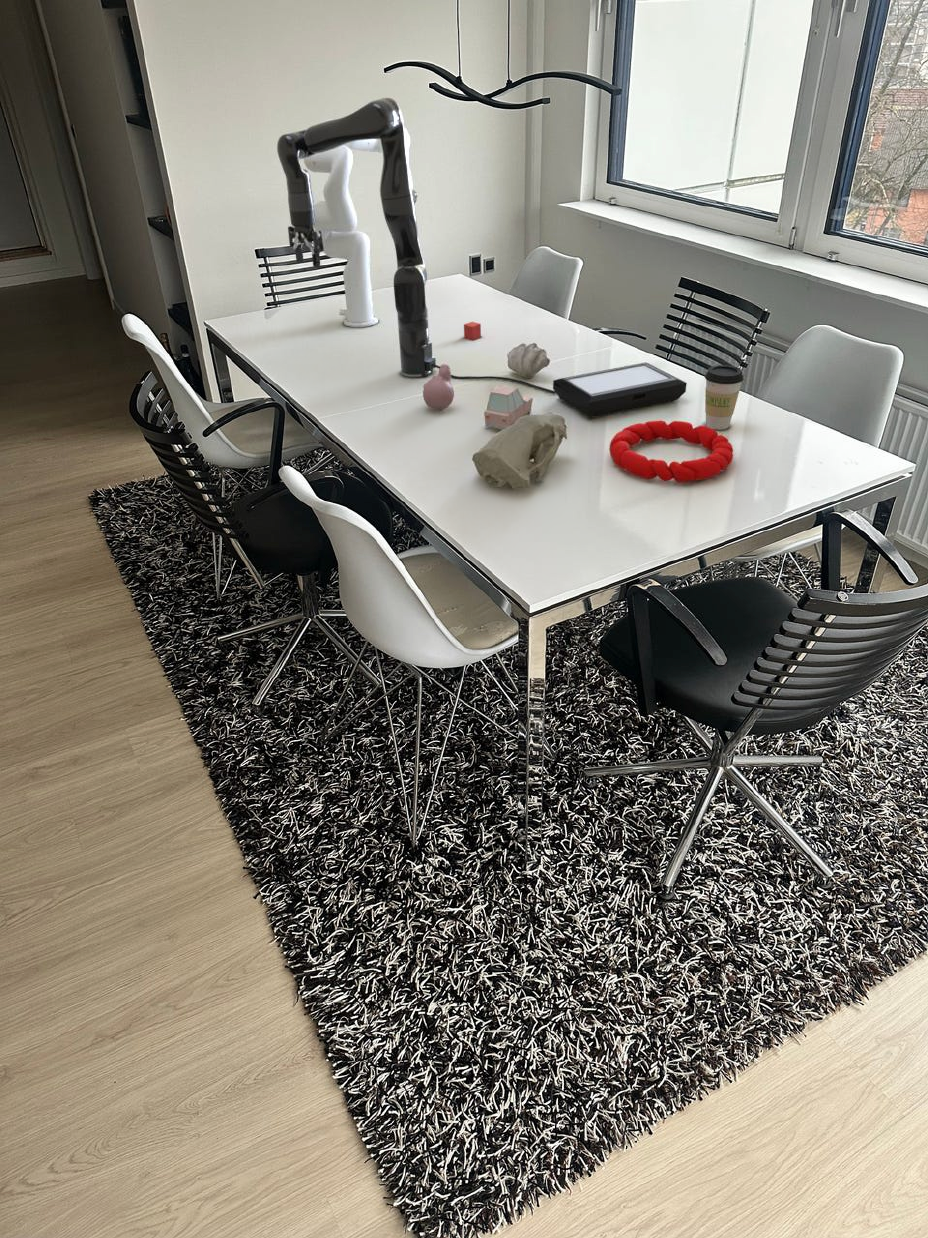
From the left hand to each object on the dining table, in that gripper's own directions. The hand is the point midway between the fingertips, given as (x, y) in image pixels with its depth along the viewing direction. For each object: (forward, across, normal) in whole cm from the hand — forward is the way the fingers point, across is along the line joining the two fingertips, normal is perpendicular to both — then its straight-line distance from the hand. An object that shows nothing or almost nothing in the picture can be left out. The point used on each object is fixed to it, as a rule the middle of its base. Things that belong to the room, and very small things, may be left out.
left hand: (402, 215), depth 337 cm
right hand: (0, +34, -70) cm, 78 cm away
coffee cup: (+30, +162, -34) cm, 168 cm away
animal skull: (+30, +142, -89) cm, 171 cm away
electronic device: (+30, +130, -36) cm, 139 cm away
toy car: (+30, +118, -69) cm, 140 cm away
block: (+30, +56, -20) cm, 67 cm away
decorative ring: (+30, +164, -60) cm, 178 cm away
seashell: (+30, +97, -37) cm, 108 cm away
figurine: (+30, +95, -74) cm, 124 cm away
